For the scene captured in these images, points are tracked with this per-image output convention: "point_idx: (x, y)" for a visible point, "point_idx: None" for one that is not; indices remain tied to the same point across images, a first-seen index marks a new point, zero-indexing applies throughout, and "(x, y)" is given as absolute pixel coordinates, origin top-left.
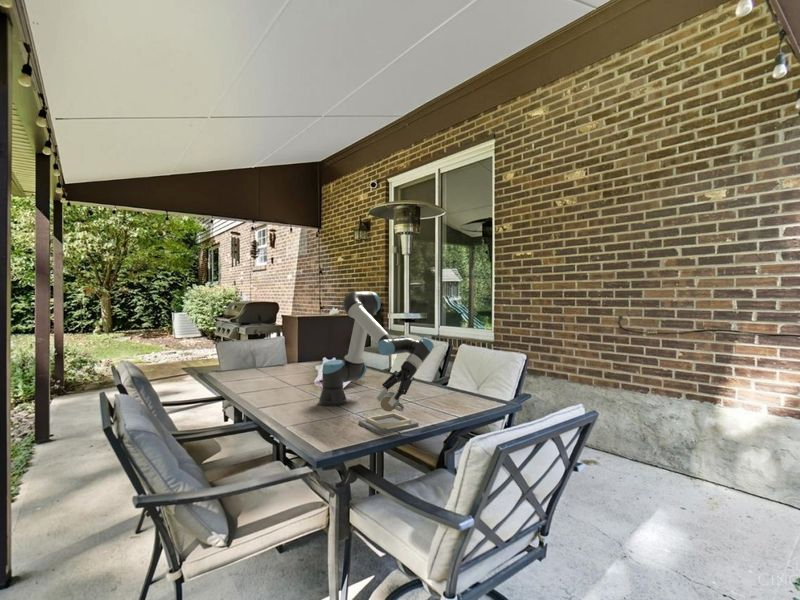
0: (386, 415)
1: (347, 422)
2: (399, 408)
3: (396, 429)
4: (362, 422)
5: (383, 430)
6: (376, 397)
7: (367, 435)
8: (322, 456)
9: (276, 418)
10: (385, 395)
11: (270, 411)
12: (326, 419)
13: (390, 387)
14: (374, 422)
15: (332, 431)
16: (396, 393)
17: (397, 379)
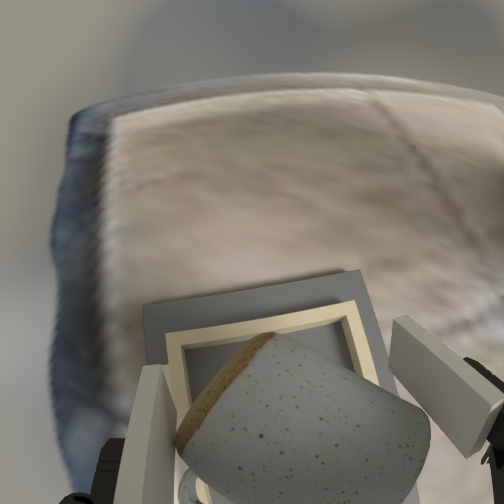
0: None
1: (388, 239)
2: (179, 488)
3: None
4: (324, 278)
5: (144, 335)
6: (407, 319)
7: (164, 260)
8: (92, 116)
9: (435, 99)
10: (325, 392)
11: (484, 111)
12: (432, 184)
13: (494, 492)
14: (256, 321)
15: (281, 160)
16: (121, 484)
17: None
